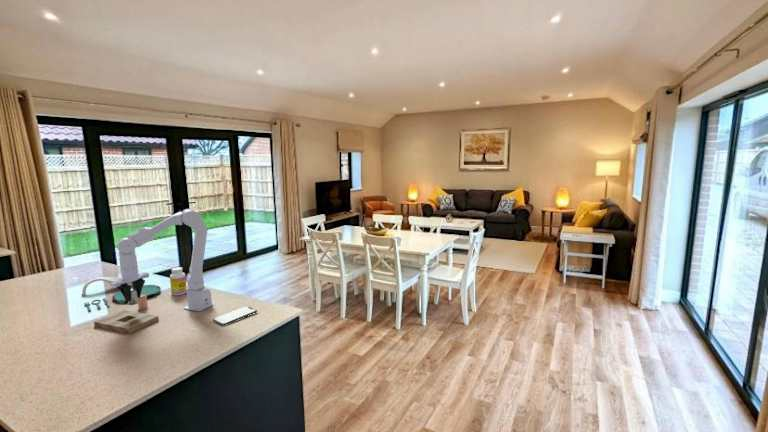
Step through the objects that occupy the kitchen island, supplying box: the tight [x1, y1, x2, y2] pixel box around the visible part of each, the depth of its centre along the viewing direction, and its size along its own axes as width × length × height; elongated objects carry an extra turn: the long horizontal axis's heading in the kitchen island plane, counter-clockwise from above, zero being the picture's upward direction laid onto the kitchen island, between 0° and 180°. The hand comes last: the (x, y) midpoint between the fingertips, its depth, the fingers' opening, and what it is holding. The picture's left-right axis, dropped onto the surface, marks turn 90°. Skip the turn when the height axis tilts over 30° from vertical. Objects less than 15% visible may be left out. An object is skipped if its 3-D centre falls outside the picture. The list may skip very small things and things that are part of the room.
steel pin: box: [127, 287, 139, 306], centre depth 149 cm, size 4×4×6 cm
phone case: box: [212, 305, 258, 326], centre depth 152 cm, size 9×2×16 cm
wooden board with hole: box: [93, 309, 160, 335], centre depth 147 cm, size 20×12×2 cm, turn 71°
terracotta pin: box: [137, 294, 149, 311], centre depth 162 cm, size 4×4×6 cm
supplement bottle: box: [169, 266, 187, 297], centre depth 179 cm, size 7×7×13 cm
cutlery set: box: [84, 284, 161, 313], centre depth 174 cm, size 20×30×2 cm, turn 134°
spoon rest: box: [82, 276, 133, 296], centre depth 187 cm, size 24×12×7 cm, turn 131°
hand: (133, 299), depth 149 cm, fingers closed on steel pin, 3 cm apart
